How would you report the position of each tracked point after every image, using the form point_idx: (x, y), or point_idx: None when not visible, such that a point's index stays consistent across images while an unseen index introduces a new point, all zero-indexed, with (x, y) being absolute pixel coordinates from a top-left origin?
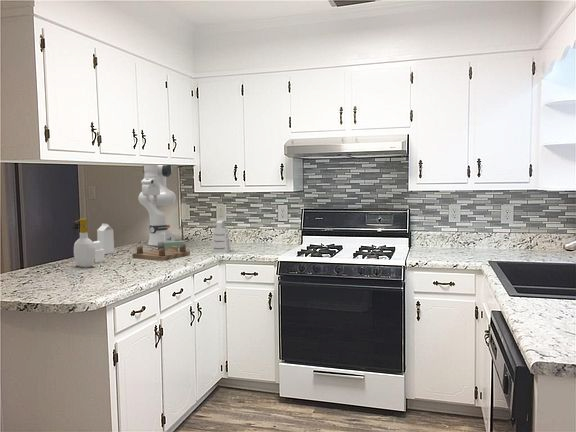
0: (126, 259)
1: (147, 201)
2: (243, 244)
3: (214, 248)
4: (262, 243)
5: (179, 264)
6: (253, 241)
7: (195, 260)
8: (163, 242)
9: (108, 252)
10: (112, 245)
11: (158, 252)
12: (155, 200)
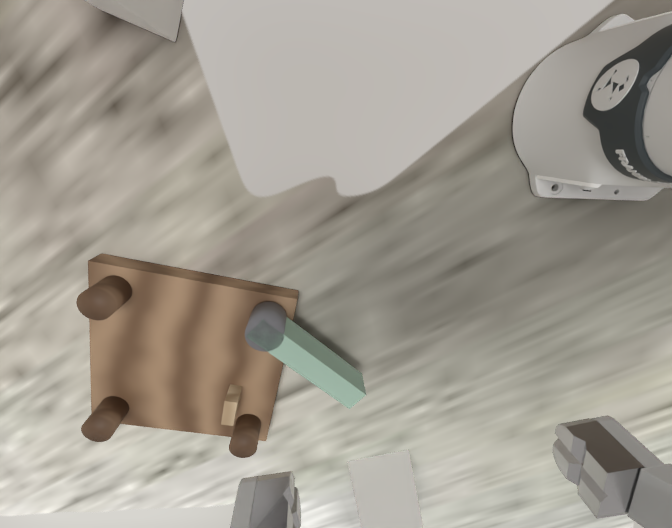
0: (48, 254)
1: (239, 508)
2: None
3: (398, 460)
4: None
5: (79, 481)
6: None
7: (172, 487)
8: (275, 342)
9: (127, 20)
10: (138, 21)
11: (179, 353)
12: (578, 492)
